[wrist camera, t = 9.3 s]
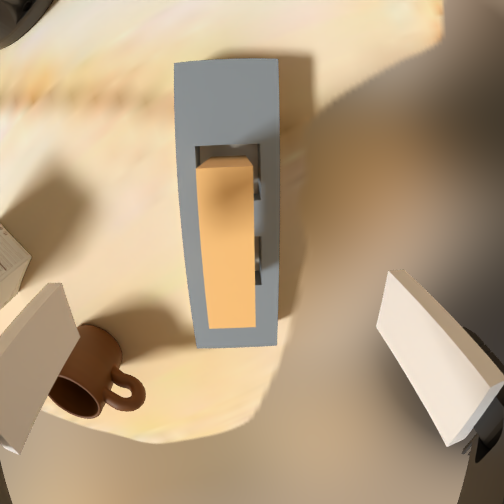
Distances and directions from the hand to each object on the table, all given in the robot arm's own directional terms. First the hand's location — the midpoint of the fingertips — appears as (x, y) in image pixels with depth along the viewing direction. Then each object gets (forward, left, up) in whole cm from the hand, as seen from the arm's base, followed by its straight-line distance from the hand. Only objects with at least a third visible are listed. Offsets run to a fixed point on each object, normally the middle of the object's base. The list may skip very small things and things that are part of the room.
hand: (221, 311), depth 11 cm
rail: (0, 0, -18) cm, 18 cm away
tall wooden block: (0, 0, -17) cm, 17 cm away
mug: (+17, -16, -18) cm, 30 cm away
